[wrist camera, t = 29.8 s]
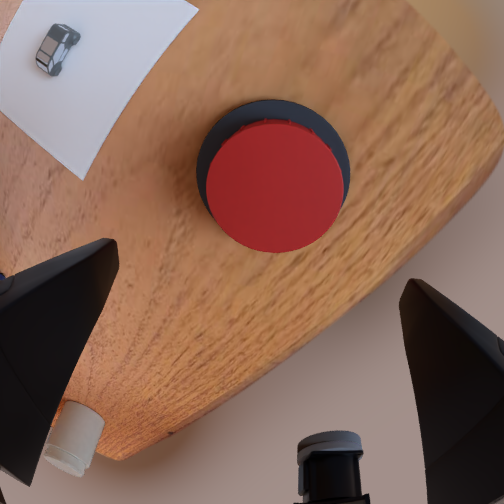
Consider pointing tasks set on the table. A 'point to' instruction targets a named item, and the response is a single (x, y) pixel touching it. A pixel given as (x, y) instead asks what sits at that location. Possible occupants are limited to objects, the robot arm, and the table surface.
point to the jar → (74, 438)
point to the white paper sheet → (81, 68)
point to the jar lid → (274, 186)
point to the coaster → (270, 111)
